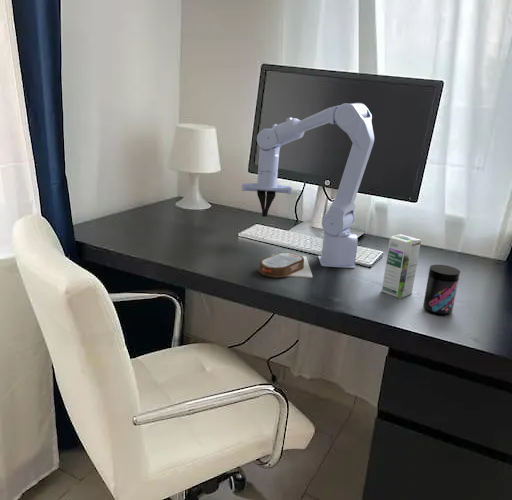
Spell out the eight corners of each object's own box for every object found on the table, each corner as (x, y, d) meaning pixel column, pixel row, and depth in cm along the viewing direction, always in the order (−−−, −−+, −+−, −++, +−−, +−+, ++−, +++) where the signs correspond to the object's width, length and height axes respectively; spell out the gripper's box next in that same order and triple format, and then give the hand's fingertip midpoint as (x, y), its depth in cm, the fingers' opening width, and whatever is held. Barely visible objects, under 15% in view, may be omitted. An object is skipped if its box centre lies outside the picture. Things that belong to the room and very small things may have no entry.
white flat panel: (306, 257, 161) (306, 256, 160) (312, 277, 145) (312, 276, 145) (271, 255, 160) (271, 254, 160) (274, 275, 145) (274, 274, 145)
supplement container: (419, 312, 129) (427, 270, 125) (424, 302, 135) (432, 262, 131) (449, 319, 126) (458, 277, 123) (453, 309, 132) (462, 268, 129)
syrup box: (380, 291, 139) (388, 236, 135) (393, 286, 143) (401, 232, 139) (400, 299, 136) (409, 242, 131) (412, 293, 140) (422, 238, 135)
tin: (252, 271, 146) (278, 282, 141) (253, 260, 145) (279, 270, 140) (284, 258, 157) (309, 268, 153) (285, 248, 156) (310, 257, 152)
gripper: (291, 169, 166) (287, 213, 170) (243, 166, 165) (240, 210, 169) (293, 174, 159) (289, 219, 163) (243, 170, 158) (240, 216, 163)
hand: (264, 215), depth 166 cm, fingers closed
